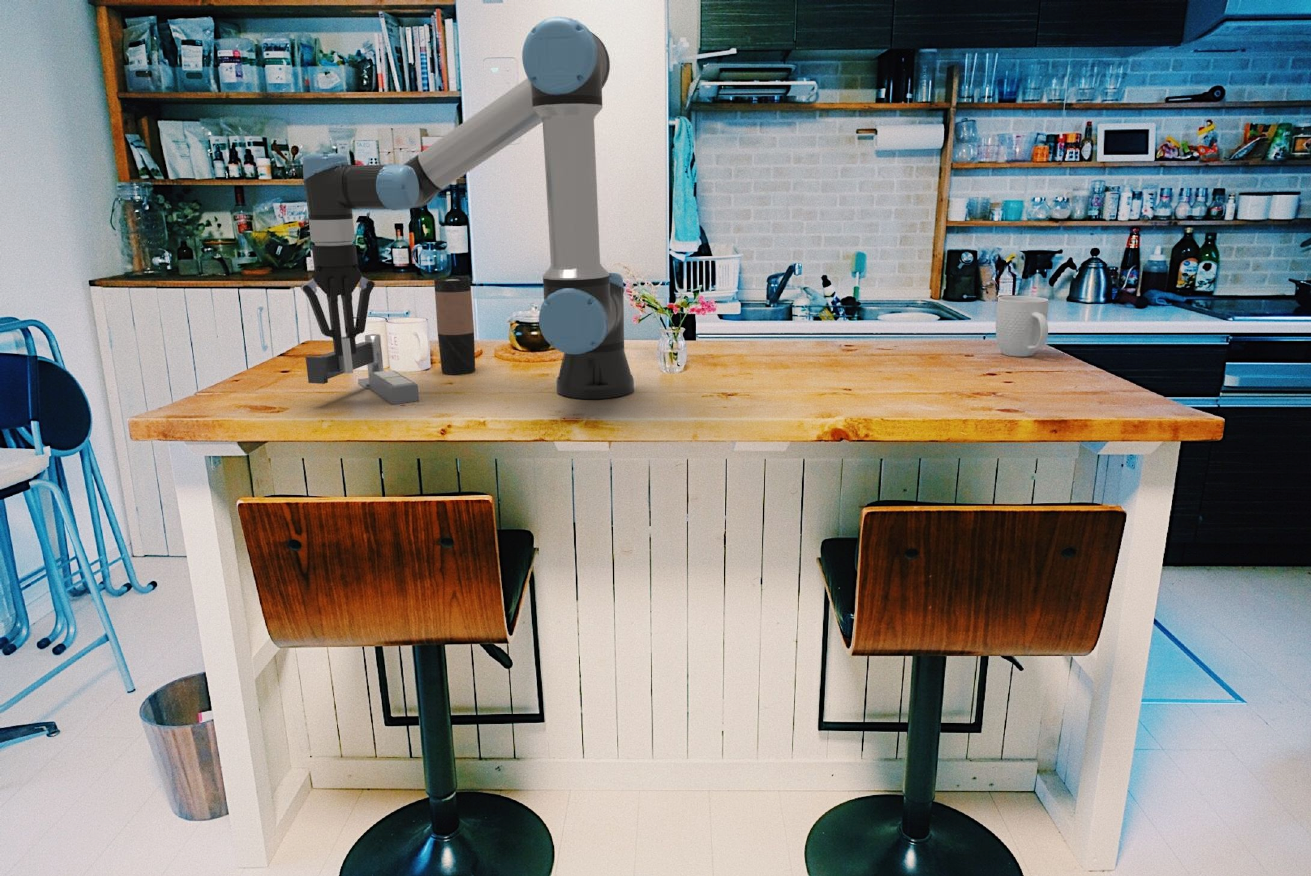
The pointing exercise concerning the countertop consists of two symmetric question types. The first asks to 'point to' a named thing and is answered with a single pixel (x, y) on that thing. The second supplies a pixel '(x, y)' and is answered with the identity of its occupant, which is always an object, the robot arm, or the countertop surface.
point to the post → (377, 358)
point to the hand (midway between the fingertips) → (347, 372)
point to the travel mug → (455, 325)
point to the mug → (1021, 324)
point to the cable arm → (336, 363)
